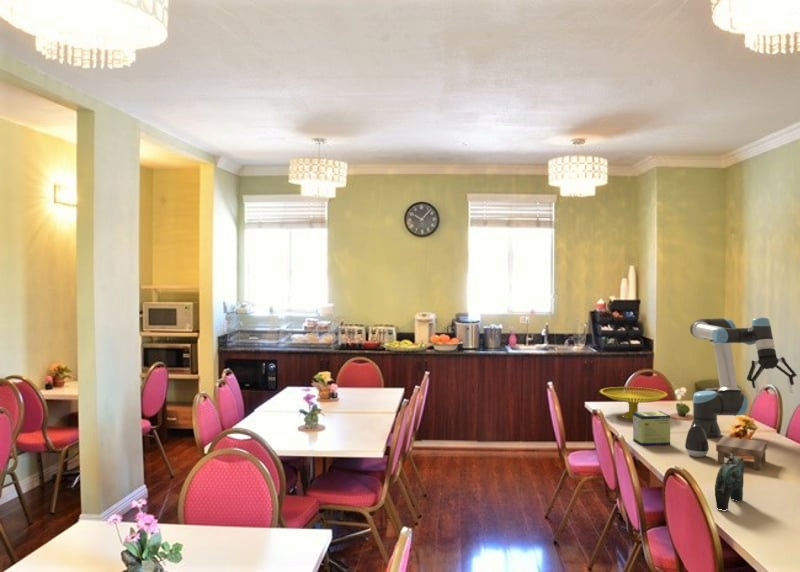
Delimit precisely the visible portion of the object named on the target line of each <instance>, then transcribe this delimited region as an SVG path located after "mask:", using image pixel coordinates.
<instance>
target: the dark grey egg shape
mask: <svg viewBox="0 0 800 572" xmlns="http://www.w3.org/2000/svg"><path fill="white" fill-rule="evenodd" d="M691 425H692V424H691ZM691 425H690V427H691V428H689V429H688V431H687V435H686V438H685V442H684V443H685V444H684V447H685V449H686V452H687V454H688V455H690V456H691V457H694V458H704V457H705V456H706V455H707V454H708V452H709V449H710V448H709V447H710V446H709V442H708V441H709V440H708V437H706V434H705V431H704V430H703V428H702V427H701V426H700V425H697V424H694V425H692V426H691Z"/></svg>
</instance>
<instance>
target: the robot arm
mask: <svg viewBox="0 0 800 572" xmlns="http://www.w3.org/2000/svg"><path fill="white" fill-rule="evenodd" d="M771 326H772V325H771V323H770V319H769V318H768V317H756V318H753V319H752V320H751V327H737V326H736V324H735V323H734V321H733V320H732V319H730V318H722V317H721V318H700V319H696V320H694V321H693V322H692V323H691V324H690V327H689V333H690V334H691V336H693V337H694V338H696V339H701V340H709V342H710V344H711V345H713V348H714V354H715V355H714V357H715V363H716V369H717V370H716V371H717V375H718V383H719V389H717V392H716V391H714V390H700V391H696V392H694V393H693V398H692V411H693V412H692V415H693V419H692V422H691V425H690V428H691V426H692V425H694V424H697V425H700V426H701V427H702V428H703V430H704V431H705V434H706V437H707V438H710V439H711V438H712V439H713V438H719V437H721V436H722V431H721V429H720V425H719V422H718V416H733V417H736V416H744V415H745V413H746V412H747V410H748V405H749V400H748V397H747V395H746V394H745V393H742V389H740V387H738V381H737V374H736V367H735V362H734V354H733V349H732V344H745V345H747V346H751V345H755V348H756V350H757V351H756V352H757V358H758V360H751V362H750V363H751V366H750V369H749V371H748V374H747V377H746V380H747V381H748V382H751V386H752V388H753V389H755V393H756V395H757V396H760V390H759V385H758V381H757V379H758V377H760V375H761V374H762V372H763V371H765V370H770V369H772V370H773V369H775V368H776V369H777V370H779V371H780V372H781V373H783V374H784V375H786V376H787V384H788V389H789V392H790V393H793V394H794V391H793V386H794V384H795V382H794V378H795V377H797V376H798V375H797V373H796V372H795V371H794V370H793V369H792V367H791V366H790V364H789V363H787V360H786V358H785V357H783V356H782V357H780V358H778V356H777V352H776V349H775V341H774V338H773V332H772V327H771ZM779 362H780V363H782V364H783V365H784V366H785V367H786V369H787V370H788V371H789V372H790V373H791V374H790V373H789V372H787V371H786V370H785V369H783V368H782V367H781V366H779V365H778V363H779ZM757 365H760V366H759V367H758V369H757V370H755V369H756V366H757ZM755 371H756V372H755ZM754 372H755V374H754ZM690 428H689V429H690Z"/></svg>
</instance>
